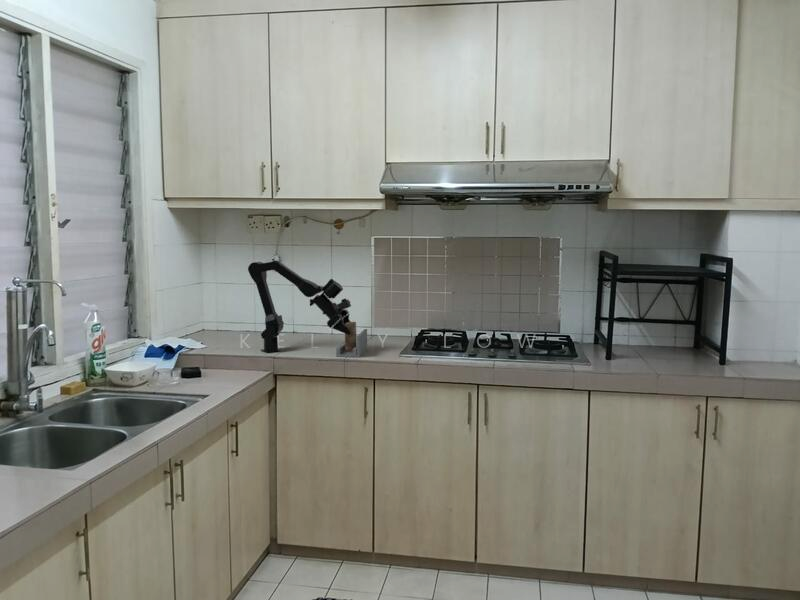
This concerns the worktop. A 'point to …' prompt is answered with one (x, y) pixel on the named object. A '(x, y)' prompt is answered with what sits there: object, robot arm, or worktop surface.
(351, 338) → the brown wooden block
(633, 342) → the worktop surface
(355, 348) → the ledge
